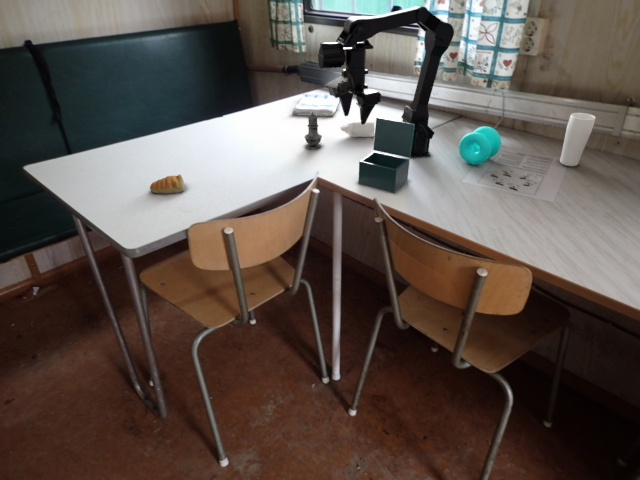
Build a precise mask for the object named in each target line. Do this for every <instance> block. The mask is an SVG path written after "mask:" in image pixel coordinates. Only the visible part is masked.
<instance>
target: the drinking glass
mask: <svg viewBox="0 0 640 480" xmlns="http://www.w3.org/2000/svg"><path fill="white" fill-rule="evenodd" d="M596 118H597V117H596V116H595V115H593V114H590V113H586V112H572V113H571V114H570V116H569V119H568V122H567V124H566V127H565V128H566V129H565V134H564V138H563V144H562V148H561V149H562V150H561V153H560V154H561V155H560V158H559V163H560V164H561V165H563V166H566V167H577V166H578V165H580V164H579V163H580V160H581V158H582V155H583V153H584V150H585V148H586V146H587V144H588V141H589V140H590V136H591V135H592V132H593V129H594V125H595V122H596Z"/></svg>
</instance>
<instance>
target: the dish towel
mask: <svg viewBox="0 0 640 480" xmlns="http://www.w3.org/2000/svg"><path fill="white" fill-rule="evenodd" d="M339 104H340V99H339V98H335V97H334V96H331V95H330V94H308V93H303V94H302V96H301V98H300V100H299V101H298V102H297V103H296V105H295V107H294V108H293V109H292V111H291V113H292V114H294V115H296V116H309V115H311V114H312V112H313V114H314V115H316V116H321V117H322V116H323V117H324V116H326V117H329V116H330V117H331V116H334V114H335V113H336V111H337V109H338V106H339Z"/></svg>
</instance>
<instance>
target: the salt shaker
mask: <svg viewBox="0 0 640 480" xmlns="http://www.w3.org/2000/svg"><path fill="white" fill-rule="evenodd" d="M307 127H308V133H307V134H305V135H304V139H305V142H306V145H305V148H306V149H307V150H312V151H313V150H319V149H321V148H322V144H320V143H321V141H322V137H323V136H322V134H320V133H319V131H318V130H319V129H318V128H319V124H318V115H314V114H313V112H312V114H311V115H308V124H307Z"/></svg>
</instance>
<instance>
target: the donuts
mask: <svg viewBox="0 0 640 480" xmlns="http://www.w3.org/2000/svg"><path fill="white" fill-rule="evenodd" d="M501 147H502V138H501V135H500V134H499V132H498V131H497V130H496V129H495V128H493V127H491V126H486V125H483V126H479V127H477V128H476V129H475V130H473V132H469V133H466V134H465V135H464V136H463V137H462V138H461V140H460V141H459V145H458V152H459V155H460V157H461V159H462V160H464V162H466V163H468V164H469V165H473V166H478V165H481V164H484V163H485V162H486V161H487V160H488V159H489V158H492V157H495V156H496V155H498V153H499V151H500V149H501Z"/></svg>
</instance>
